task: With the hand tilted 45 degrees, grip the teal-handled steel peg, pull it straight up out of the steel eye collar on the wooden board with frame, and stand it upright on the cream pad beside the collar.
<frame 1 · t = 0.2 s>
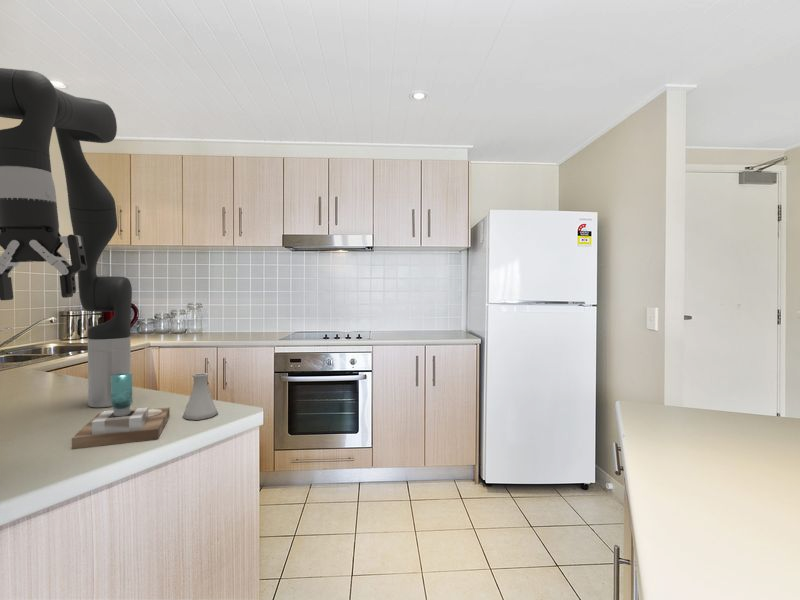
hand: (37, 298, 69), 28 cm above the countertop, tool pointing down, fingers open, 8 cm apart
flask: (200, 417, 99), on the countertop
peg: (121, 426, 84), point 2 cm above the countertop, touching wooden board with frame
wooden board with frame: (126, 430, 88), on the countertop
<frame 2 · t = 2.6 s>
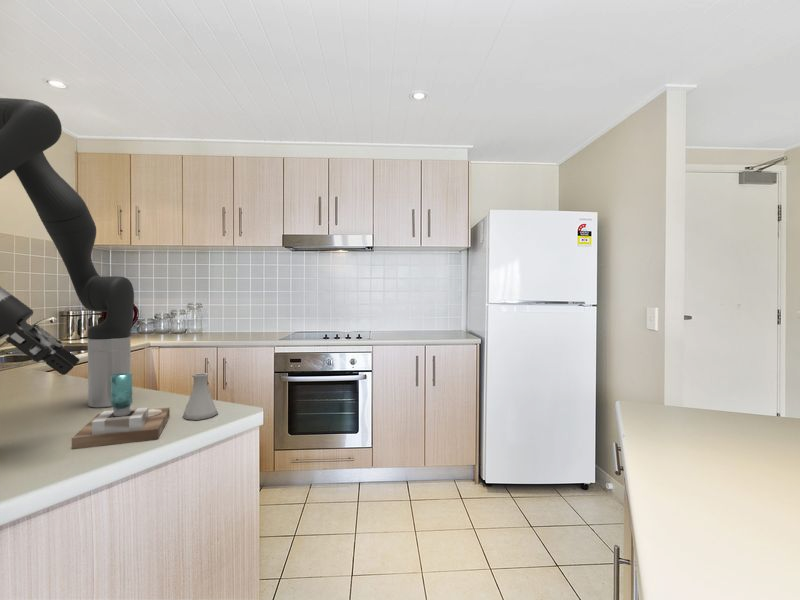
hand: (72, 367, 80), 15 cm above the countertop, tool tilted 45°, fingers open, 8 cm apart
nothing on the countertop moved.
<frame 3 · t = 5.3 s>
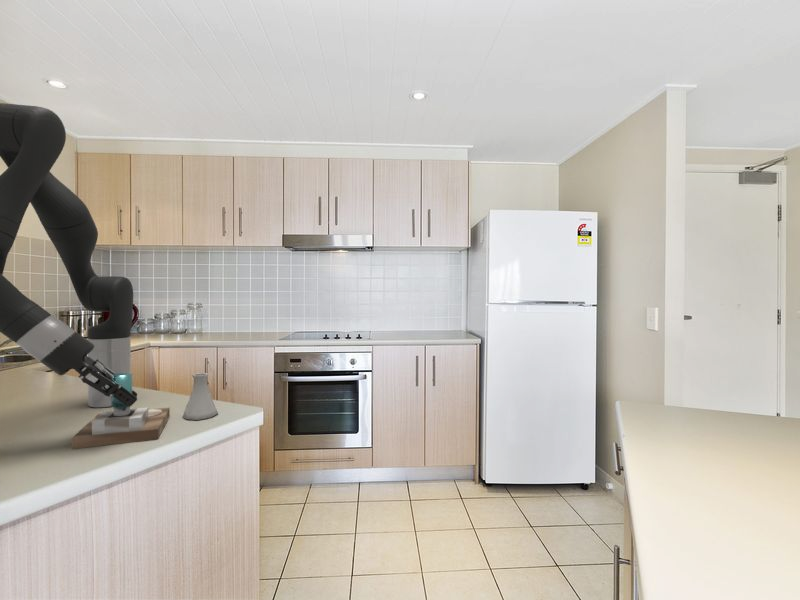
hand: (133, 400, 85), 7 cm above the countertop, tool tilted 45°, fingers closed on peg, 3 cm apart
peg: (121, 426, 84), point 2 cm above the countertop, touching gripper, wooden board with frame
everything else where it was.
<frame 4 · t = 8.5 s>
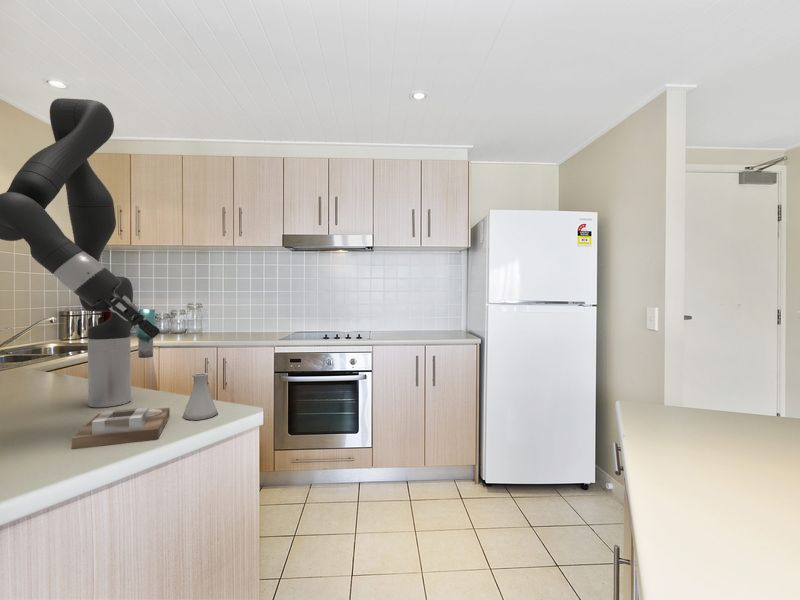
hand: (156, 333, 94), 20 cm above the countertop, tool tilted 45°, fingers closed on peg, 3 cm apart
peg: (145, 356, 93), point 15 cm above the countertop, touching gripper
everything else where it was.
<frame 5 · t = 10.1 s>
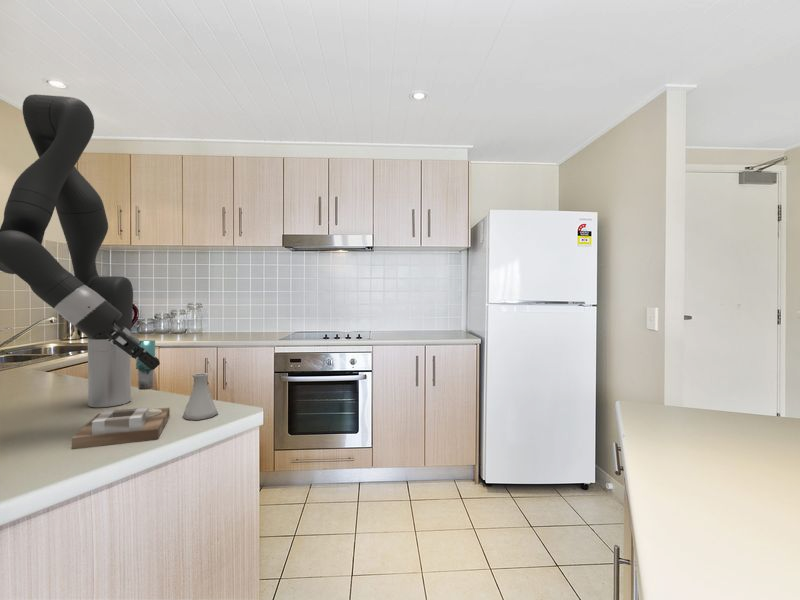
hand: (156, 365, 94), 13 cm above the countertop, tool tilted 45°, fingers closed on peg, 3 cm apart
peg: (145, 388, 93), point 8 cm above the countertop, touching gripper
everything else where it was.
when the fingers open (8 cm above the countertop, at t = 11.5 s): peg stays where it is, resting on wooden board with frame.
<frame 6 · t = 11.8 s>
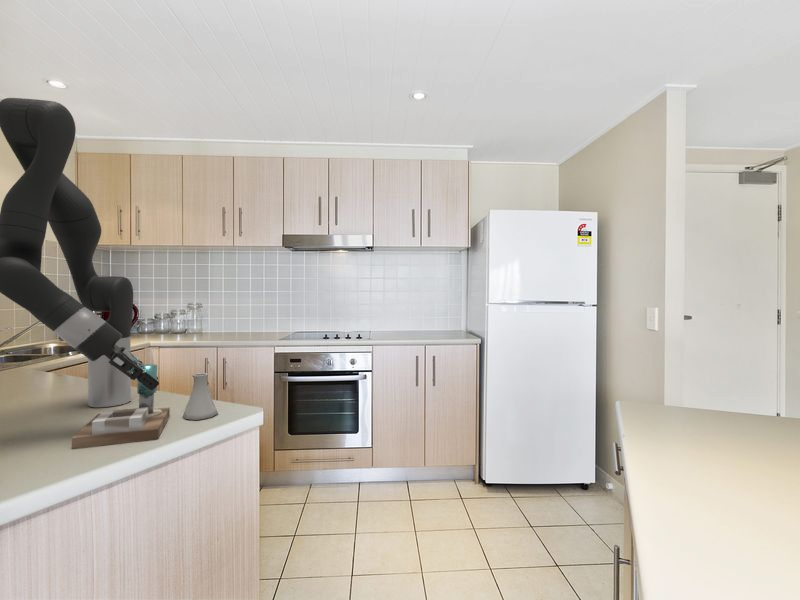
hand: (155, 384, 94), 9 cm above the countertop, tool tilted 45°, fingers open, 6 cm apart
peg: (145, 412, 93), point 2 cm above the countertop, touching wooden board with frame
everything else where it was.
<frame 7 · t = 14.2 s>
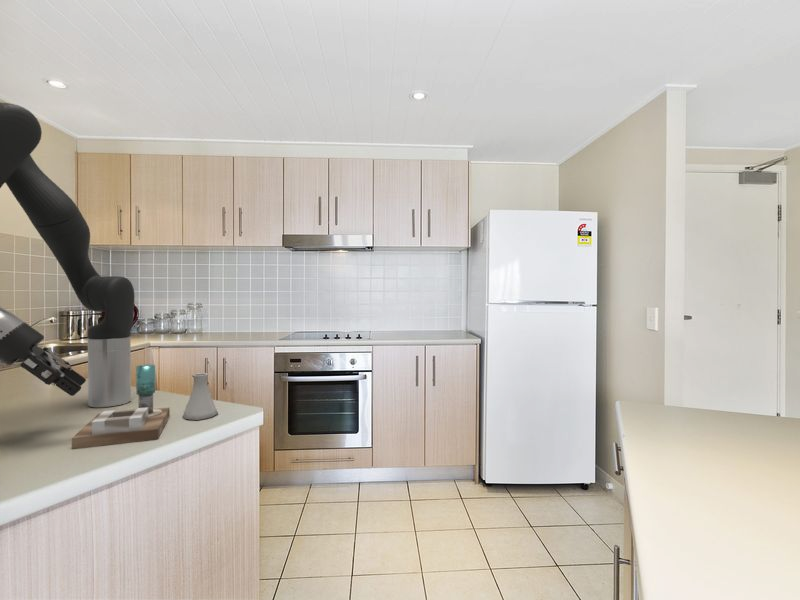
hand: (80, 387, 87), 9 cm above the countertop, tool tilted 45°, fingers open, 8 cm apart
nothing on the countertop moved.
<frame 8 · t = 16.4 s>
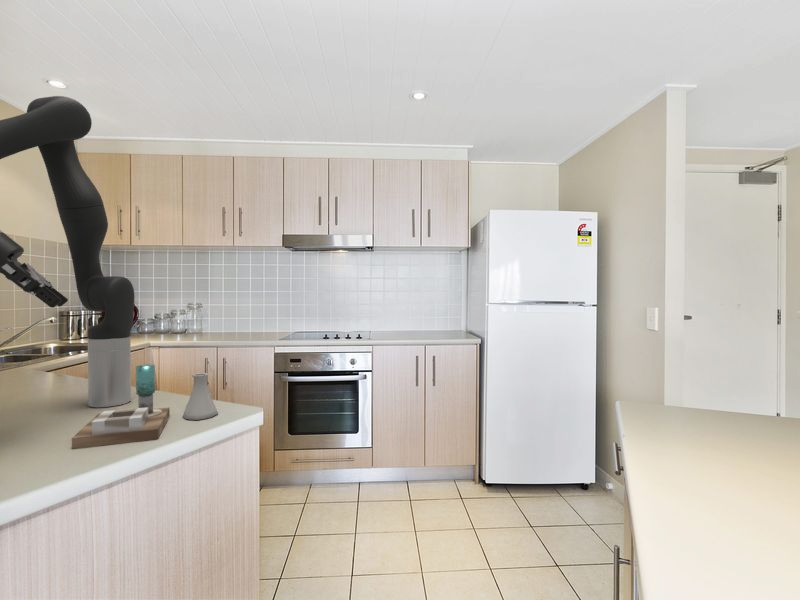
hand: (61, 304, 85), 27 cm above the countertop, tool tilted 45°, fingers open, 8 cm apart
nothing on the countertop moved.
at the end: peg 0.1 cm from the target spot on the wooden board with frame, point 2.3 cm above the wooden board with frame's base; peg tilted 0°; the gripper is holding nothing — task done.
